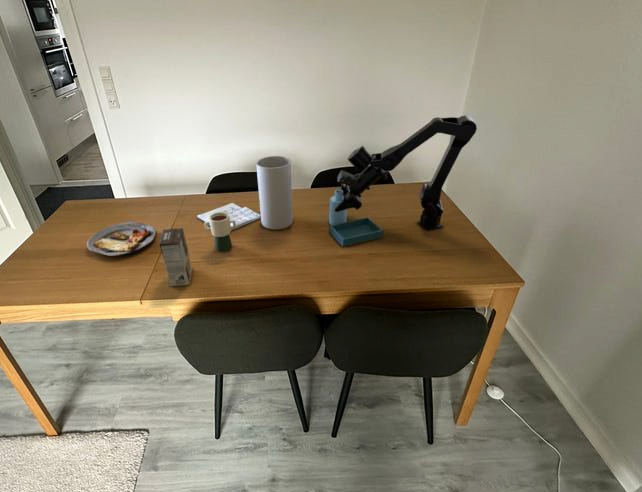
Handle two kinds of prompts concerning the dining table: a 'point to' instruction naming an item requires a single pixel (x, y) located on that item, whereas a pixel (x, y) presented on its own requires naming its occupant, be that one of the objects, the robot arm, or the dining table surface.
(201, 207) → the dining table surface
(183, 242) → the coffee box
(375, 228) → the teal open tray
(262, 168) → the cylinder vase
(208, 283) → the dining table surface
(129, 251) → the food plate
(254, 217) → the white printed square slab
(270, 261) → the dining table surface
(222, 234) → the character mug
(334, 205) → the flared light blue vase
